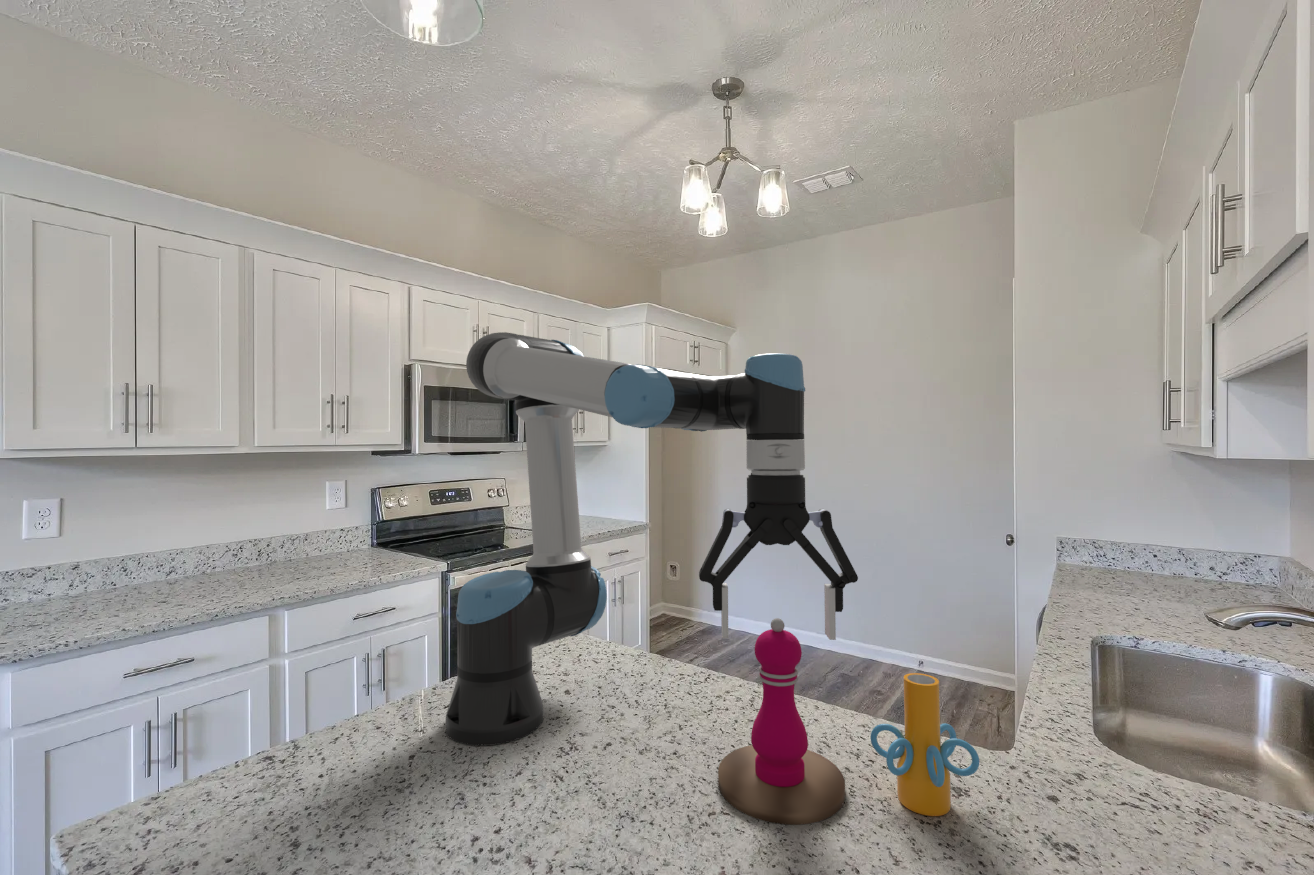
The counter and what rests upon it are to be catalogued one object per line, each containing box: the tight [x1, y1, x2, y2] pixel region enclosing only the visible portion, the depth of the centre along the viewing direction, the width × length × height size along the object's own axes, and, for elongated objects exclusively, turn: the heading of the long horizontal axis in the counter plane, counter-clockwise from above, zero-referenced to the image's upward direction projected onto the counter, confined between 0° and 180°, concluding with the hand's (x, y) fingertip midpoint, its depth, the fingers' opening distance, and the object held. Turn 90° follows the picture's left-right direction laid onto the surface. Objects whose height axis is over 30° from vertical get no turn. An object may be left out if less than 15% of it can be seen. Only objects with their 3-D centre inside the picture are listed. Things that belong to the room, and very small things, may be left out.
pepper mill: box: [750, 617, 809, 787], centre depth 76 cm, size 7×7×20 cm
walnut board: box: [717, 744, 846, 826], centre depth 76 cm, size 16×16×2 cm
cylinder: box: [870, 672, 980, 817], centre depth 72 cm, size 12×10×15 cm
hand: (777, 636), depth 77 cm, fingers open, 13 cm apart
